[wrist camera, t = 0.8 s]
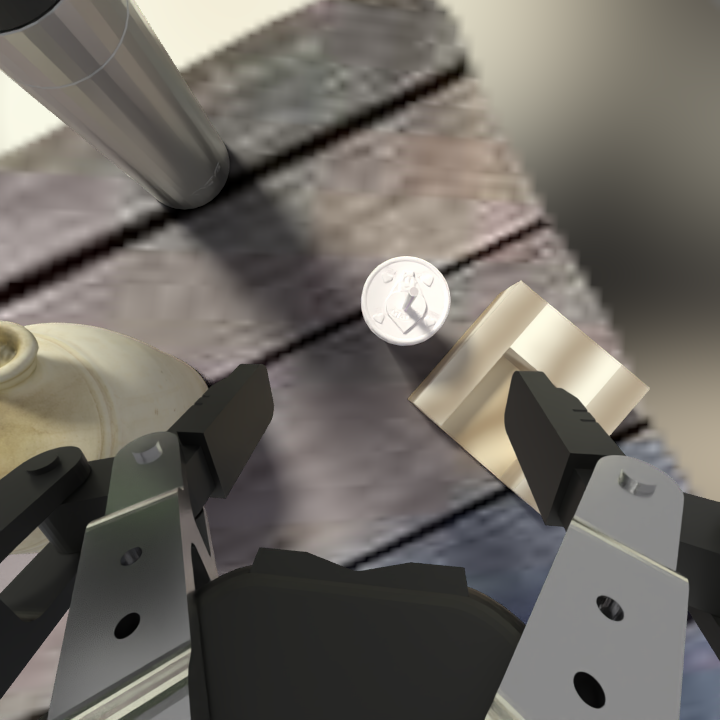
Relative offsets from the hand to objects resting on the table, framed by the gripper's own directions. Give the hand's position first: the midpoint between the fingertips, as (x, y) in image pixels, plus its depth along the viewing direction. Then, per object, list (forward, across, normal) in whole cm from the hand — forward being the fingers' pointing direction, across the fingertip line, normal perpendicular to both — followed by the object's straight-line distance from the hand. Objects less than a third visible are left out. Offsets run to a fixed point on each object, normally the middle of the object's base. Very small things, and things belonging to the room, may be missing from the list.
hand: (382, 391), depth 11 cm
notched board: (+19, -11, +12) cm, 25 cm away
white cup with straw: (+22, 0, +6) cm, 23 cm away
